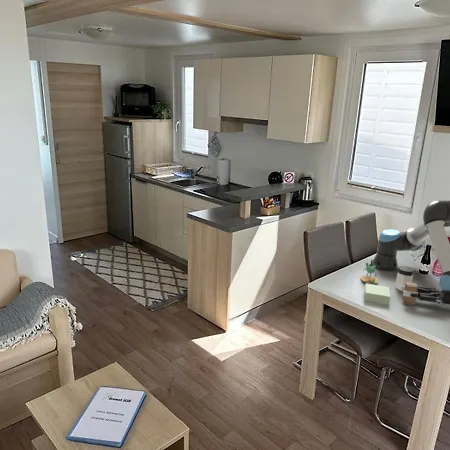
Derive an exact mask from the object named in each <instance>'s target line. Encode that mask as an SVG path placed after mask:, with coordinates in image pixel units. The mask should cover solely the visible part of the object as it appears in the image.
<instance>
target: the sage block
mask: <svg viewBox="0 0 450 450" xmlns="http://www.w3.org/2000/svg"><path fill="white" fill-rule="evenodd" d="M363 293H364V300H363V301H365V302H370V303H375V304H380V305H386V306H387V305H388V306H389V305H390V299H391V292H390V286H384V285H377V284H375V285H373V284H372V283H371V284H369V283H365V286H364V292H363Z"/></svg>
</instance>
